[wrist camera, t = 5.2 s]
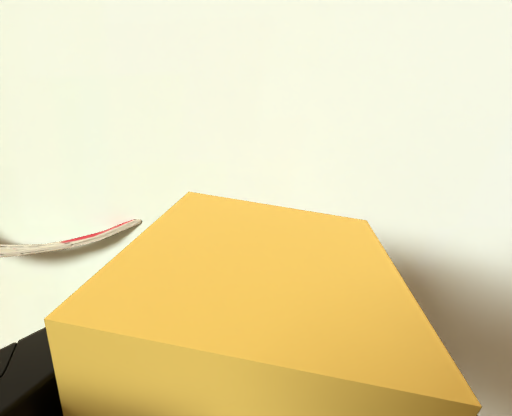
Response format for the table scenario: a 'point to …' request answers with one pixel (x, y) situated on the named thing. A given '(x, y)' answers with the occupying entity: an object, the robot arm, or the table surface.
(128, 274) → the mustard cube
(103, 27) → the table surface
